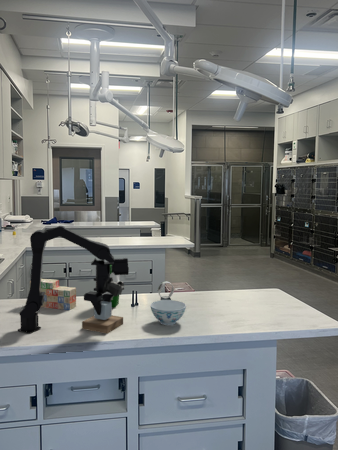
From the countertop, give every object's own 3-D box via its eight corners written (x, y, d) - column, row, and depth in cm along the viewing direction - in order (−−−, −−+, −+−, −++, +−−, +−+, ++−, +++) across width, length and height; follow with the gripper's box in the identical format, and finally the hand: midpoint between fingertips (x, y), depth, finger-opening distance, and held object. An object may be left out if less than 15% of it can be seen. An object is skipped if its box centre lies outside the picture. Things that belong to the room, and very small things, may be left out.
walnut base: (107, 333, 157) (107, 326, 157) (82, 328, 162) (82, 321, 161) (123, 324, 168) (123, 317, 168) (98, 319, 173) (98, 313, 172)
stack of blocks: (76, 306, 191) (76, 281, 190) (69, 310, 185) (69, 284, 184) (37, 302, 197) (37, 277, 196) (29, 306, 191) (29, 280, 190)
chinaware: (145, 318, 175) (145, 301, 174) (177, 315, 180) (178, 298, 179) (157, 330, 161) (157, 311, 160) (191, 326, 166) (191, 308, 166)
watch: (156, 302, 199) (156, 280, 198) (172, 302, 201) (172, 280, 200) (158, 306, 194) (158, 283, 193) (174, 305, 195) (174, 283, 194)
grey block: (104, 320, 161) (104, 305, 161) (94, 318, 163) (94, 303, 163) (111, 316, 166) (111, 302, 165) (101, 314, 168) (101, 300, 167)
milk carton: (98, 307, 190) (98, 266, 188) (103, 302, 199) (103, 262, 197) (116, 308, 189) (116, 266, 187) (121, 303, 198) (121, 263, 196)
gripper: (107, 282, 151) (107, 322, 153) (131, 272, 168) (131, 309, 170) (82, 279, 155) (83, 318, 157) (108, 270, 172) (108, 305, 174)
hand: (102, 312), depth 164 cm, fingers open, 5 cm apart
